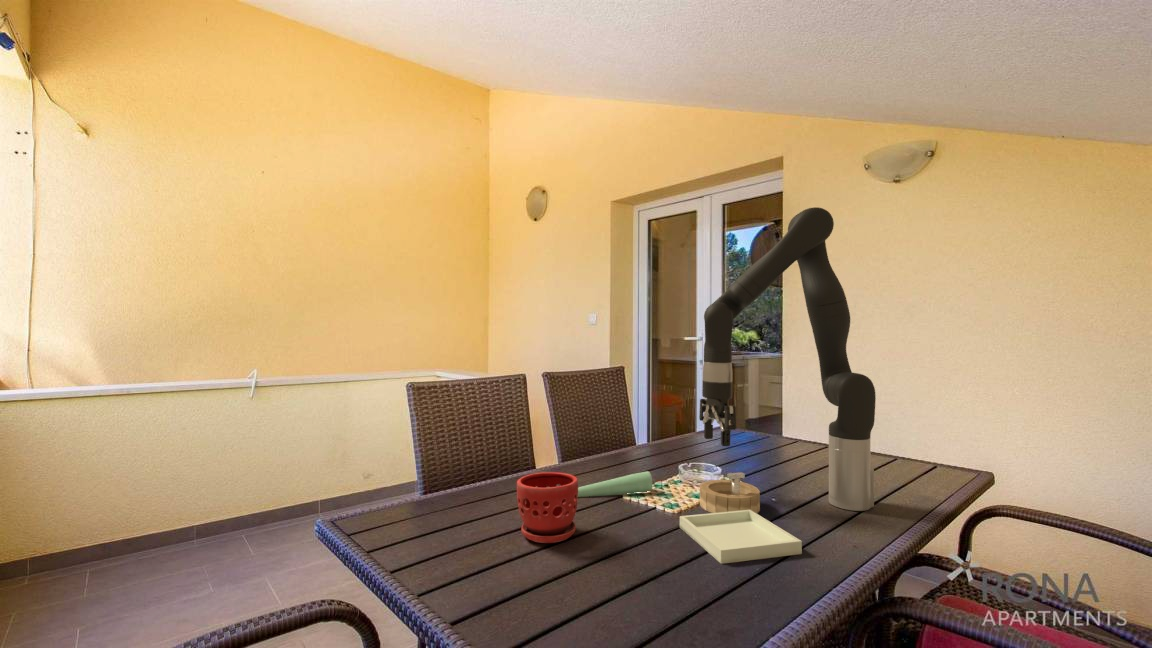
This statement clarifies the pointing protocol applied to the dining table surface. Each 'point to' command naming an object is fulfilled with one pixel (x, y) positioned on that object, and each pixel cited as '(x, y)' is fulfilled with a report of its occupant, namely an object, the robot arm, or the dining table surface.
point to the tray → (739, 536)
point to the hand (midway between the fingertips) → (716, 442)
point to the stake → (735, 482)
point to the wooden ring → (728, 497)
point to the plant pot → (547, 506)
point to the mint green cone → (618, 485)
